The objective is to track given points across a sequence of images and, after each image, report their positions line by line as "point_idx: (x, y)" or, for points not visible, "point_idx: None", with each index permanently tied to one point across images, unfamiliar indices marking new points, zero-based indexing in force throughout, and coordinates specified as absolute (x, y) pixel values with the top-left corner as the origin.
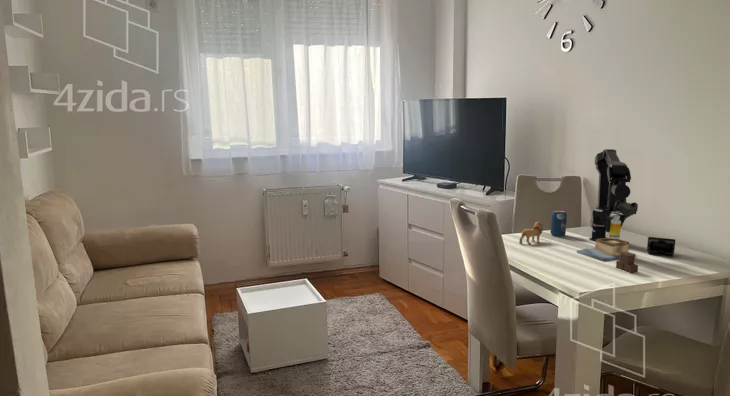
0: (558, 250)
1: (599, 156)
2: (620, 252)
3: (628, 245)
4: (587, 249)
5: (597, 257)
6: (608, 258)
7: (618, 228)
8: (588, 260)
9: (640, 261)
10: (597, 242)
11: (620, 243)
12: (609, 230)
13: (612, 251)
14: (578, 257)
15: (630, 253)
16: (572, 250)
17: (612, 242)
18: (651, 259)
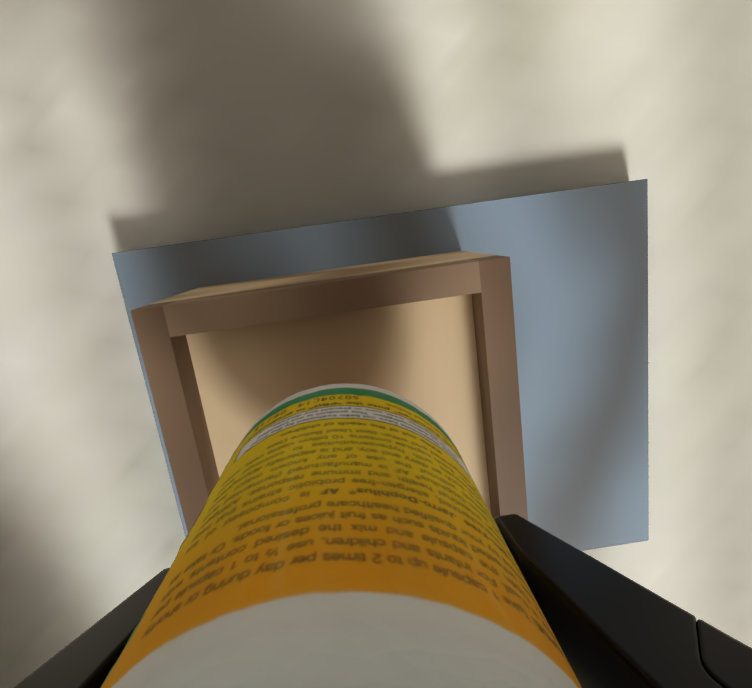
0: (737, 616)
1: None
2: (327, 271)
3: (165, 301)
4: None
5: (644, 259)
6: (554, 192)
7: (322, 476)
8: (741, 252)
9: (207, 48)
10: None
11: (336, 281)
12: (511, 536)
13: (472, 253)
14: (749, 373)
15: (160, 293)
16: None
17: None
18: (8, 87)
